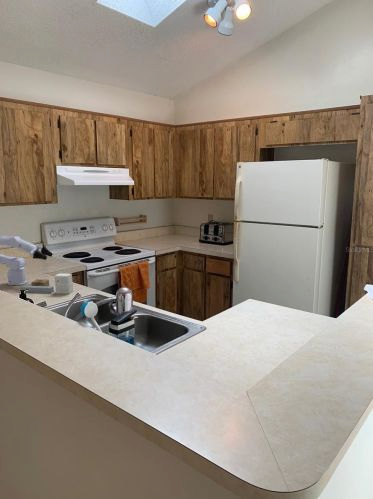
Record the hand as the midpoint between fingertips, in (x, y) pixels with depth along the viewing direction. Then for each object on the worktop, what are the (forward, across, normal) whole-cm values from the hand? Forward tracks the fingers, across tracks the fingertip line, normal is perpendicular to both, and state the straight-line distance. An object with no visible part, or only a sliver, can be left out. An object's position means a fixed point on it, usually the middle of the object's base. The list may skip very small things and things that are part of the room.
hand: (49, 256), depth 230 cm
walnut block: (+4, -8, +17) cm, 19 cm away
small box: (+21, -17, +9) cm, 28 cm away
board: (+6, -17, +15) cm, 24 cm away
